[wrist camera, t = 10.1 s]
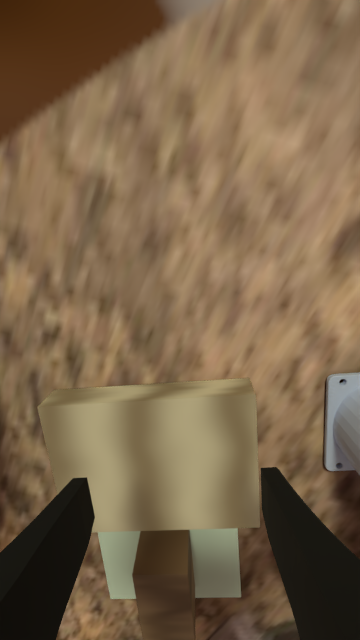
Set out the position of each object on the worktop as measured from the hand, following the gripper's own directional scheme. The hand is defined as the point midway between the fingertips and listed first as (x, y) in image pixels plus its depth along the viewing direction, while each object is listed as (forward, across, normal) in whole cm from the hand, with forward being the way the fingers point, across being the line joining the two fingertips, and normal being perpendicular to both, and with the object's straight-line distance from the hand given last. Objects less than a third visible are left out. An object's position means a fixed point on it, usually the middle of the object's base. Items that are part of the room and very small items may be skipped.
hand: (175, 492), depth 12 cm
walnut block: (+8, +2, +13) cm, 15 cm away
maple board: (+10, +2, +6) cm, 12 cm away
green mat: (+10, +2, +16) cm, 20 cm away
